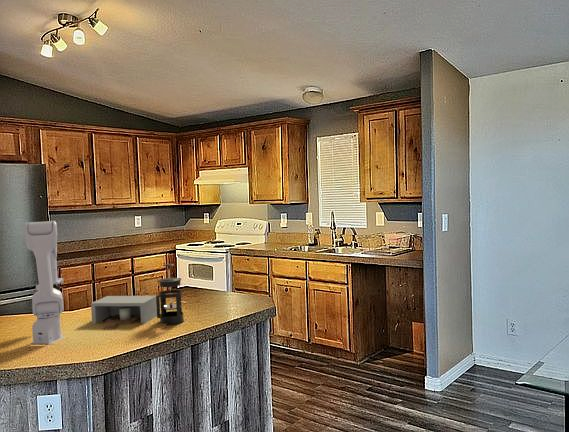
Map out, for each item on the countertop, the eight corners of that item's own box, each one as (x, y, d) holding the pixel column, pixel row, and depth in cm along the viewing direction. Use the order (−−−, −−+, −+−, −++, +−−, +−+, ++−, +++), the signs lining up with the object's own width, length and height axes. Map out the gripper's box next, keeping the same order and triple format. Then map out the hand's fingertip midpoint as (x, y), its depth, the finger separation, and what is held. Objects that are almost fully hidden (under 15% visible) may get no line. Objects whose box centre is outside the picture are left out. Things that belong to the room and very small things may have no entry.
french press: (175, 317, 212) (172, 261, 210) (190, 320, 206) (187, 263, 204) (151, 324, 202) (148, 265, 201) (166, 327, 197) (163, 267, 195)
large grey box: (145, 325, 201) (143, 303, 201) (92, 325, 205) (90, 303, 204) (158, 316, 214) (157, 295, 214) (108, 316, 218) (107, 296, 217)
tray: (123, 330, 195) (122, 323, 195) (95, 330, 197) (95, 323, 197) (142, 319, 212) (141, 313, 212) (116, 319, 214) (116, 313, 214)
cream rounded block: (128, 320, 207) (127, 309, 207) (117, 320, 208) (117, 309, 207) (133, 317, 211) (132, 306, 211) (122, 317, 212) (122, 306, 212)
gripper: (47, 273, 192) (49, 309, 193) (69, 267, 206) (71, 300, 207) (29, 273, 193) (32, 309, 194) (52, 267, 207) (55, 300, 208)
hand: (51, 305), depth 200 cm, fingers closed
